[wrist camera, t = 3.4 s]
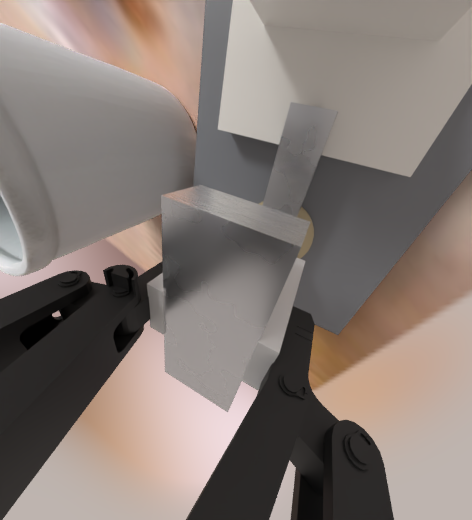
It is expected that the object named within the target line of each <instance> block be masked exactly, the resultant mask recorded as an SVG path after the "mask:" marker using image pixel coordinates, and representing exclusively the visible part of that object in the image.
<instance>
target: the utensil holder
mask: <svg viewBox="0 0 472 520" xmlns="http://www.w3.org/2000/svg"><path fill="white" fill-rule="evenodd" d="M196 137H197V134H196V131H195V129H194V126H193V123H192V121H191V119H190V117H189V115H188V113H187V112H186V110H185V108H184V107H183V105H182V104H181V103H180V101H179V100H178V99H177V98H176V97H175V96H174V95H173V94H172V93H171V92H170V91H169V90H167V89H166V88H164V87H163V86H161V85H159V84H157V83H155V82H153V81H150V80H148V79H146V78H143V77H141V76H138V75H136V74H133V73H131V72H128V71H126V70H123V69H121V68H118V67H116V66H113V65H111V64H108V63H105V62H103V61H100V60H97V59H95V58H92V57H89V56H86V55H84V54H81V53H79V52H76V51H73V50H71V49H68V48H65V47H63V46H60V45H58V44H55V43H52V42H50V41H47V40H44V39H42V38H39V37H37V36H34V35H31V34H29V33H26V32H24V31H21V30H19V29H16V28H13V27H11V26H8V25H5V24H3V23H0V271H2V272H4V273H6V274H9V275H13V276H24V275H27V274H30V273H33V272H36V271H38V270H40V269H42V268H44V267H46V266H47V265H48V264H49V263H50V262H51V261H52V260H54V259H57V258H59V257H62V256H64V255H67V254H69V253H72V252H74V251H76V250H78V249H81V248H84V247H86V246H88V245H91V244H93V243H95V242H97V241H100V240H102V239H105V238H107V237H109V236H112V235H114V234H116V233H119V232H121V231H123V230H126V229H128V228H130V227H133V226H135V225H138V224H140V223H142V222H145V221H147V220H149V219H152V218H154V217H156V216H158V215H161V214H162V211H161V195H164V194H168V193H171V192H175V191H179V190H183V189H187V188H190V187H193V181H194V166H195V151H196Z"/></svg>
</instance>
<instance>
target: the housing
mask: <svg viewBox="0 0 472 520" xmlns="http://www.w3.org/2000/svg"><path fill="white" fill-rule="evenodd" d="M232 3H233V0H206V4H205V19H204V33H203V48H202V63H201V78H200V92H199V107H198V122H197V137H196V151H195V166H194V181H193V187H194V186H198V185H203V186H206V187H209V188H212V189H215V190H218V191H221V192H224V193H227V194H230V195H233V196H236V197H239V198H242V199H245V200H248V201H251V202H253V203H256V204H259V205H263V201H264V198H265V194H266V190H267V187H268V183H269V179H270V176H271V172H272V169H273V165H274V161H275V158H276V154H277V150H278V147H279V144H275V143H271V142H267V141H263V140H258V139H254V138H250V137H246V136H242V135H238V134H234V133H230V132H226V131H222V130H218V122H219V114H220V105H221V97H222V88H223V80H224V71H225V63H226V54H227V46H228V37H229V29H230V20H231V12H232ZM471 170H472V84H471V86H470V88H469V89H468V91H467V92H466V94H465V95H464V97H463V98H462V100H461V101H460V103H459V104H458V106H457V107H456V109H455V110H454V112H453V113H452V115H451V116H450V118H449V119H448V121H447V122H446V124H445V126H444V127H443V129H442V130H441V132H440V133H439V135H438V136H437V138H436V139H435V141H434V142H433V144H432V145H431V147H430V148H429V150H428V151H427V153H426V154H425V156H424V157H423V159H422V160H421V162H420V163H419V165H418V167H417V168H416V170H415V171H414V173H413V174H412V176H411V177H407V176H403V175H399V174H395V173H391V172H387V171H383V170H379V169H375V168H371V167H367V166H363V165H359V164H355V163H351V162H347V161H343V160H339V159H335V158H331V157H327V156H323V155H321V158H320V160H319V163H318V165H317V168H316V170H315V173H314V176H313V178H312V181H311V183H310V186H309V188H308V191H307V193H306V196H305V199H304V201H303V204H302V206H301V209H300V211H299V214H298V216H297V217H298V218H301V219H304V220H307V221H310V225H309V227H308V230H307V233H306V236H305V238H304V241H303V244H302V247H301V249H300V251H299V253H298V256H297V258H299V259H302V260H304V261H305V264H304V268H303V272H302V275H301V279H300V282H299V286H298V289H297V293H296V296H295V300H294V303H293V306H294V307H297V308H299V309H301V310H303V311H305V312H308V313H310V314H311V315H312V318H313V321H314V324H315V325H317V326H319V327H322V328H324V329H326V330H328V331H330V332H332V333H334V334H337V335H338V334H339V333H340V332H341V331H342V329H343V328H344V327H345V326H346V325H347V323H348V322H349V321H350V320H351V318H352V317H353V316H354V315H355V313H356V312H357V311H358V310H359V308H360V307H361V306H362V305H363V303H364V302H365V301H366V300H367V299H368V297H369V296H370V295H371V294H372V292H373V291H374V290H375V289H376V287H377V286H378V285H379V284H380V282H381V281H382V280H383V279H384V278H385V276H386V275H387V274H388V273H389V271H390V270H391V269H392V268H393V266H394V265H395V264H396V263H397V261H398V260H399V259H400V258H401V256H402V255H403V254H404V253H405V252H406V250H407V249H408V248H409V247H410V245H411V244H412V243H413V242H414V240H415V239H416V238H417V237H418V235H419V234H420V233H421V232H422V231H423V229H424V228H425V227H426V226H427V224H428V223H429V222H430V221H431V219H432V218H433V217H434V216H435V214H436V213H437V212H438V211H439V209H440V208H441V207H442V206H443V205H444V203H445V202H446V201H447V200H448V198H449V197H450V196H451V195H452V193H453V192H454V191H455V190H456V188H457V187H458V186H459V185H460V183H461V182H462V181H463V180H464V179H465V177H466V176H467V175H468V174H469V172H470V171H471Z"/></svg>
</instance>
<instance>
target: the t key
mask: <svg viewBox="0 0 472 520" xmlns="http://www.w3.org/2000/svg"><path fill="white" fill-rule="evenodd" d="M337 114H338V111H336V110H331V109H325V108H320V107H315V106H310V105H304V104H299V103H294V102H291V103H290V107H289V111H288V114H287V118H286V121H285V125H284V129H283V132H282V136H281V140H280V143H279V147H278V150H277V154H276V158H275V161H274V165H273V169H272V172H271V176H270V179H269V183H268V187H267V190H266V194H265V198H264V201H263V205H259V204H256V203H253V202H251V201H248V200H245V199H242V198H239V197H236V196H233V195H230V194H227V193H224V192H221V191H218V190H215V189H212V188H209V187H206V186H203V185H198V186H194V187H190V188H187V189H183V190H179V191H175V192H171V193H168V194H164V195H161V211H162V257H163V290H164V313H165V333H164V347H165V372H166V373H168V374H169V375H171V376H173V377H174V378H176V379H177V380H179V381H180V382H182V383H183V384H185V385H187V386H188V387H190V388H191V389H193V390H194V391H196V392H197V393H199V394H201V395H202V396H204V397H205V398H207V399H208V400H210V401H211V402H213V403H214V404H216V405H217V406H219V407H220V408H222V409H224V410H225V411H227V412H228V410H229V408H230V406H231V404H232V402H233V399H234V397H235V395H236V393H237V390H238V388H239V386H240V383H241V379H242V377H243V374H244V372H245V370H246V367H247V365H248V363H249V361H250V358H251V356H252V354H253V351H254V349H255V347H256V345H257V342H258V340H260V339H261V336H262V334H263V332H264V330H265V327H266V325H267V323H268V321H269V319H270V316H271V314H272V312H273V310H274V307H275V305H276V303H277V301H278V298H279V296H280V294H281V292H282V289H283V287H284V285H285V283H286V280H287V278H288V276H289V274H290V271H291V269H292V267H293V265H294V262H295V260H296V258H297V256H298V253H299V251H300V249H301V247H302V244H303V241H304V238H305V236H306V233H307V230H308V227H309V225H310V221H307V220H304V219H301V218H298V217H297V216H298V214H299V211H300V209H301V206H302V204H303V201H304V199H305V196H306V193H307V191H308V188H309V186H310V183H311V181H312V178H313V176H314V173H315V170H316V168H317V165H318V163H319V160H320V158H321V155H322V153H323V150H324V148H325V145H326V142H327V140H328V137H329V135H330V132H331V130H332V127H333V125H334V122H335V119H336V117H337Z"/></svg>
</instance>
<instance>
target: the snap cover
mask: <svg viewBox="0 0 472 520" xmlns="http://www.w3.org/2000/svg"><path fill="white" fill-rule="evenodd" d="M471 84H472V0H233V3H232V12H231V20H230V29H229V37H228V46H227V54H226V63H225V71H224V80H223V88H222V97H221V105H220V114H219V122H218V130H222V131H226V132H230V133H234V134H238V135H242V136H246V137H250V138H254V139H258V140H263V141H267V142H271V143H275V144H279V143H280V140H281V136H282V132H283V129H284V125H285V121H286V118H287V114H288V111H289V107H290V103H291V102H294V103H299V104H304V105H310V106H315V107H320V108H325V109H331V110H336V111H338V114H337V117H336V119H335V122H334V125H333V127H332V130H331V132H330V135H329V137H328V140H327V142H326V145H325V148H324V150H323V153H322V155H323V156H327V157H331V158H335V159H339V160H343V161H347V162H351V163H355V164H359V165H363V166H367V167H371V168H375V169H379V170H383V171H387V172H391V173H395V174H399V175H403V176H407V177H411V176H412V174H413V173H414V171H415V170H416V168H417V167H418V165H419V163H420V162H421V160H422V159H423V157H424V156H425V154H426V153H427V151H428V150H429V148H430V147H431V145H432V144H433V142H434V141H435V139H436V138H437V136H438V135H439V133H440V132H441V130H442V129H443V127H444V126H445V124H446V122H447V121H448V119H449V118H450V116H451V115H452V113H453V112H454V110H455V109H456V107H457V106H458V104H459V103H460V101H461V100H462V98H463V97H464V95H465V94H466V92H467V91H468V89H469V88H470V86H471Z"/></svg>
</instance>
